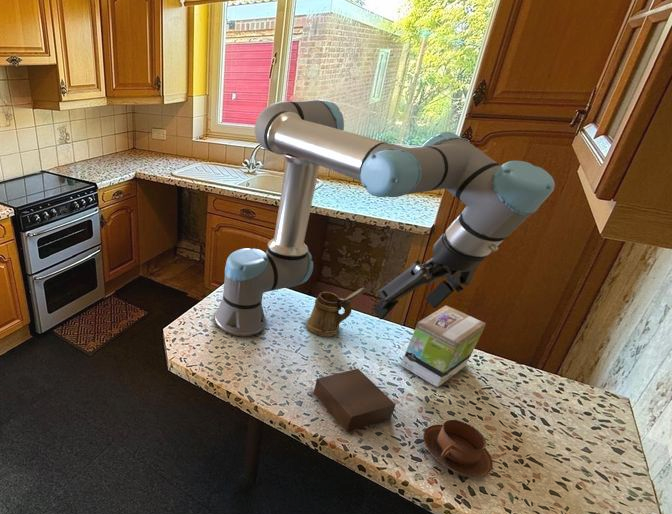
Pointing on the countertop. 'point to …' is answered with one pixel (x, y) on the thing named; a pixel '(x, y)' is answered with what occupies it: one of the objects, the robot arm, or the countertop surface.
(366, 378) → the walnut block
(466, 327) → the tea box
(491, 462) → the cup and saucer
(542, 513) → the countertop surface
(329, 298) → the wooden mug
